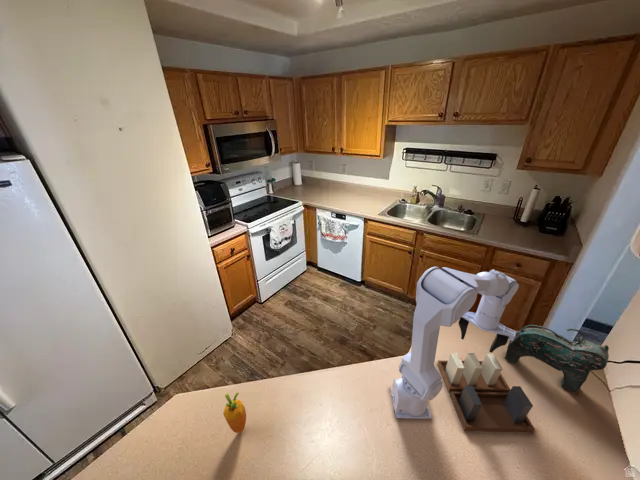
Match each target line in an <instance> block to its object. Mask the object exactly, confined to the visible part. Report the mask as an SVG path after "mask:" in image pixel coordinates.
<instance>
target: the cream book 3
mask: <svg viewBox="0 0 640 480" xmlns="http://www.w3.org/2000/svg"><path fill="white" fill-rule="evenodd" d="M482 361H483V362H482V365H481V366H482V368H483V369H482V371H481V374H482V376H483V378H484V380H485V382H486V384H487V385H491V386H494V385H495V383H496V381H497V379H498V377H499V375H500V373H501V374H502V371H503V370H504V369H503V366H502V365H501V363H500V362H499V361H498V359H497V357H496V355H495V354H494V353H493V352H492V353H491V352H489V353H488V352H486V353H485V356H484V358H483V360H482Z"/></svg>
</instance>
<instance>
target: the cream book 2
mask: <svg viewBox="0 0 640 480" xmlns="http://www.w3.org/2000/svg"><path fill="white" fill-rule="evenodd" d="M464 358H465V359H464V360H463V361H464V364H463V366H464V368H465V369H464V371H463V375H464V377H465V379H466V381H467V383H468V385H475V384H476V382H477V380H478V378H479V376H480V373H481V371H482V369H483V368H482V366H481V364H480V363H479V361H480V360H478V359H479V358H478V357H477V355H476V354H475V352H467V354H466V355H465V357H464Z"/></svg>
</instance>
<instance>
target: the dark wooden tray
mask: <svg viewBox="0 0 640 480" xmlns="http://www.w3.org/2000/svg"><path fill="white" fill-rule="evenodd" d="M449 393H450V394H449V397H450V400H451V402H452V404H453V407H454V410H455V412H456V414H457V417H458V420H459V422H460V424H461V427H462V430H463V432H486V433H487V432H488V433H489V432H491V433H525V434H526V433H527V434H528V433H530V434H531V433H532V434H533V432H534V431H535V430H536V429H535V427H534V425H533V424H532V422H531V420H530V418H529V417H528V415H527V416H526V417H525V419H524V420H523V422H522V423H514V421H513V420H512V418H511V416H510V414H509V413H508V411H507V409H506V407H505V406H504V404H503V402H504V401H505V399H506V397H507V395H508V394H509V393H500V392H476V393H477V395H478V397H479V399H480V401H481V403H482V406H481V408H480V410H479V412H478V414H477V416H476V418H475V420H474V422H473V421H466V420H465V417H464V415H463V413H462V410H461V408H460V405H459V403H458V401H459V399H460V396H461V394H462V392H449Z"/></svg>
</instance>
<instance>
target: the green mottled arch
mask: <svg viewBox="0 0 640 480" xmlns="http://www.w3.org/2000/svg"><path fill="white" fill-rule="evenodd" d="M566 331H567V332H570V331H574V332H576V333H579V334H581V335H582V336H581V335H579V340H578V341H576V342H574V341H572V340H570V339H569V338H567V337H565V336H564V335H561V334H558V333H556V332H555V331H553V330H551V329H550V328H547V327H544V326H541V325H537V324H536V325H535V324H528V325H525V326H523V327H521V329H520V330H517V331H515V332H516V335H515V338H514V340H513V341H511V340H509V341H508V345H507V348H506V353H505V356H504V359H505V360H506V361H508V362H510V363H512V364H517V363H518V361H519V360H520V359H521V358H523V357H533V358H534V359H536V360H539V361H541V362H542V363H545V364H546V365H548V366H549V367H551V368H553V369H554V370H556V371H559V372H562V374H563V376H562V378H561V382H560V383H561V385H560V387H561V388H563V389H566V390H568V391H570V392H572V393H574V394H576V393H577V392H578V391H579V390H580V389H581V387H582V386H583V384H584V383H585V382H586V381H587V378H588V377H589V375H590V372H591V371H601V370H603V369H606V367H607V365H608V363H609V357H610V356H609V355H610V354H609V349H610V348H609V345H607V344H605V345H600V344H598V343H595V342H592V341H590V340H585V333H583V332H582V331H581V330H579V329H577V328H574V327H572V328H568V329H566Z"/></svg>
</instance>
